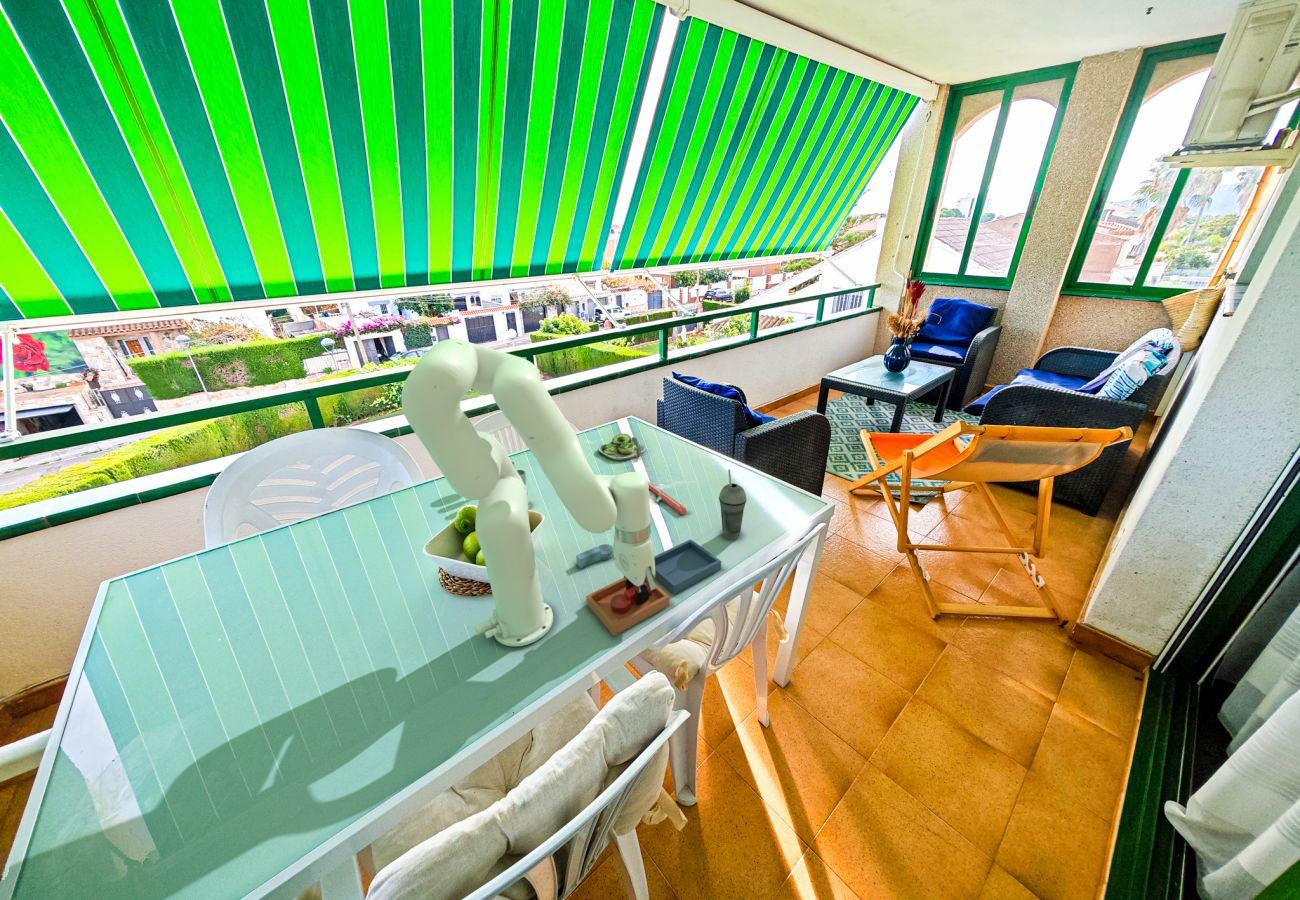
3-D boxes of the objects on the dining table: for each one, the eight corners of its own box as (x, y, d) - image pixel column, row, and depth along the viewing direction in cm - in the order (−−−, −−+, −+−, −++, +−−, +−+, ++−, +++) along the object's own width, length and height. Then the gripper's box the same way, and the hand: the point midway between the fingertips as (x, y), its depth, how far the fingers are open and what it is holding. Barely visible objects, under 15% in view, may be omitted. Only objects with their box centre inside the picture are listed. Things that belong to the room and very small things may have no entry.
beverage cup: (744, 543, 122) (748, 477, 113) (716, 541, 123) (718, 475, 115) (744, 528, 128) (748, 464, 120) (718, 526, 130) (720, 462, 121)
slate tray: (674, 594, 105) (674, 586, 104) (645, 568, 114) (645, 560, 113) (720, 569, 113) (721, 560, 112) (690, 546, 121) (690, 539, 120)
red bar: (678, 519, 135) (690, 510, 137) (676, 514, 134) (688, 505, 135) (636, 487, 154) (647, 479, 155) (634, 482, 153) (645, 475, 154)
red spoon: (643, 587, 107) (643, 577, 106) (654, 597, 104) (654, 587, 103) (607, 605, 102) (606, 596, 101) (617, 617, 99) (616, 607, 97)
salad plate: (658, 454, 176) (658, 443, 174) (619, 467, 166) (618, 455, 164) (630, 439, 190) (630, 428, 188) (593, 450, 181) (592, 439, 179)
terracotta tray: (613, 636, 95) (612, 627, 94) (587, 604, 103) (586, 595, 102) (669, 605, 102) (669, 596, 101) (640, 577, 111) (639, 569, 110)
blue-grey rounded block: (583, 570, 114) (581, 561, 113) (575, 562, 117) (573, 553, 116) (616, 555, 119) (616, 546, 118) (608, 547, 122) (607, 538, 121)
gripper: (598, 519, 100) (605, 585, 108) (640, 555, 88) (644, 627, 96) (626, 507, 104) (631, 572, 112) (671, 540, 92) (672, 610, 99)
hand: (637, 596), depth 104 cm, fingers open, 3 cm apart
